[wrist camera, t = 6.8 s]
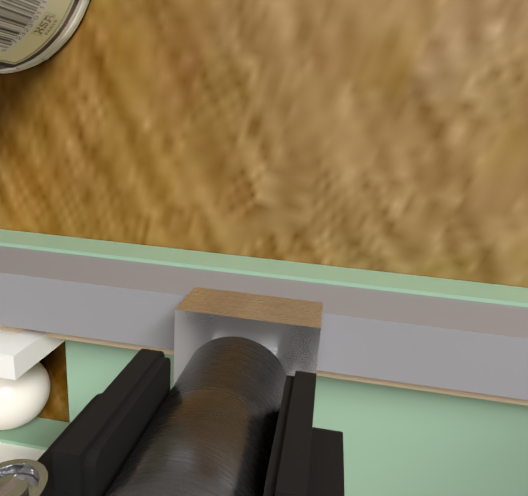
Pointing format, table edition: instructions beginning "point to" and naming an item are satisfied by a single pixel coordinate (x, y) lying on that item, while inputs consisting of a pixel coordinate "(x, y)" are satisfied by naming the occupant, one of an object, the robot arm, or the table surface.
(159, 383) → the robot arm
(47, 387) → the ball
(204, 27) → the table surface
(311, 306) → the black handled slider
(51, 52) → the coffee can
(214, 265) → the pitch
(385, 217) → the table surface
